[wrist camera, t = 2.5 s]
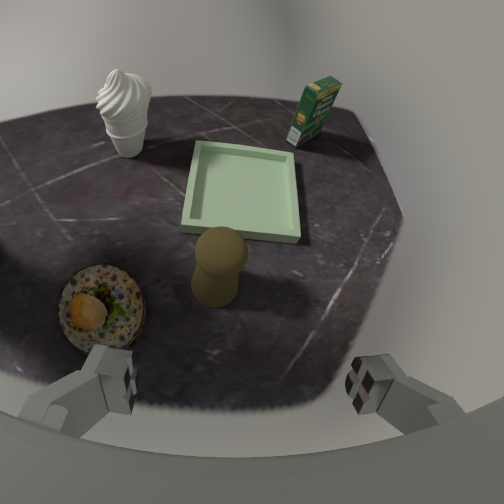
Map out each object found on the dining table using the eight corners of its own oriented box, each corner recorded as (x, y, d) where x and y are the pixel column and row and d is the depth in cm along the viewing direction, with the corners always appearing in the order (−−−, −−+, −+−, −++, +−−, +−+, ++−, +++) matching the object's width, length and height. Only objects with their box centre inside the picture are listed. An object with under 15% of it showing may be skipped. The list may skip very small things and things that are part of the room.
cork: (248, 288, 38) (268, 250, 28) (211, 317, 35) (218, 287, 26) (218, 254, 39) (227, 206, 30) (180, 280, 37) (177, 237, 27)
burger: (166, 304, 35) (159, 283, 29) (109, 378, 30) (89, 375, 23) (99, 251, 37) (83, 222, 30) (45, 316, 31) (18, 298, 24)
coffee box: (295, 150, 51) (319, 93, 40) (283, 141, 52) (304, 83, 40) (319, 135, 55) (344, 83, 43) (308, 127, 55) (330, 74, 44)
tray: (181, 232, 40) (181, 224, 38) (195, 149, 47) (196, 140, 45) (296, 243, 42) (300, 236, 40) (289, 161, 50) (292, 153, 48)
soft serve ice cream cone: (144, 127, 48) (140, 50, 33) (162, 155, 45) (160, 71, 31) (101, 144, 44) (85, 66, 30) (115, 175, 42) (97, 91, 28)
